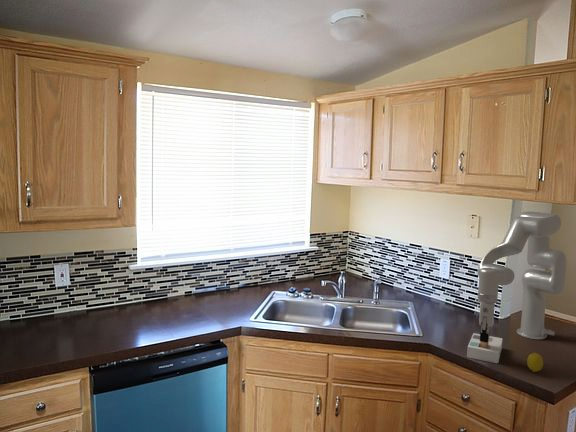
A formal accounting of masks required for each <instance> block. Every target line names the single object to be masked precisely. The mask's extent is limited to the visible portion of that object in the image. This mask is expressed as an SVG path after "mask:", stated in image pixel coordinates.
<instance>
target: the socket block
mask: <svg viewBox="0 0 576 432" xmlns="http://www.w3.org/2000/svg"><path fill="white" fill-rule="evenodd" d="M502 349H503V338H501V337H497V336H490V335H489V344H488V349H486V348H481V347H480V333H475V332H473V333H472V335H471V338H470V340H469V343H468V345H467V349H466V357H467V358H469V359H473V360H479V361H484V362H487V363H493V364H497V363H498V364H499V363H500V357H501V353H502Z"/></svg>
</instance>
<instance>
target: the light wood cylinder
mask: <svg viewBox="0 0 576 432" xmlns="http://www.w3.org/2000/svg"><path fill="white" fill-rule="evenodd" d="M486 328H487V327H486ZM489 330H491V329H490V328H489V329H488V333H489ZM488 344H489V337H488V343H486V342H481V341H480V347H481V348H486V349H488Z"/></svg>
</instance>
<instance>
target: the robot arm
mask: <svg viewBox="0 0 576 432" xmlns="http://www.w3.org/2000/svg"><path fill="white" fill-rule="evenodd" d="M561 227H562V219H561V217H560V216H559V214H556V213H550V212H549V213H548V212H539V211H538V212H537V211H523V212H520V214H519V215H518V216H516V217H515V218H513V220H512V221H511V223H510V225H509V228H508V229H507V232H506V234H505V236H504V238H503V240H502V242H500V243H499V244H497V245H496V246H494V247H493V248H491V249H490V250H489V251H487V252H486V253H485V254H484V256H483V257H482V259H481V261H480V263H479V266H478V268H477V275H478V289H477V301H478V302H479V303H480V304H479V315H478V316H479V317H478V318H479V321H478V323H479V326H480V333H479V334H480V341H481V342H486V343H488V337H489V336H490V333H491V332H490V330H491V329H490V328H492V327H493V326H494V323H495V320H494V319H495V305H496V304H498V297H499V286H508V285H510V284H512V283H513V282H514V280H515V272H514V271H513V269H511V268H509V267H507V266H501V265H498V264H497V265H496V264H494V263H495V262H496V261H498V260H500V259H502V258H505V257H510V256H515V255H519V254H520V253H522V252H523V249H525V248H524V247H525V245H526V243H527V253H526V254H527V255H526V256H527V257H526V259H527V264H528V265H529V266H530V267H534V268H537V269H531V268H530V269H527V270H525V271H524V272H523V274H522V277H521V282H522V287H523V288H522V290H523V293H522V295H523V296H522V306H521V307H522V308H521V319H520V327H519V328H517V329H516V333H517V334H518V335H519V336H521V337H523V338H527V339H531V340H544V339H546V338H547V336H548V335H549V336H555V331H554V330H552V329H547V328H545V315H546V304H547V302H546V301H547V300H546V296H545V294H544V293H547V294H552V295H561V294H562V293H563V292H564V291H565V290H564V289H565V286H566V274H567V273H566V272H567V257H566V254H565V253H564V252H563V251H561V250H559V249H554V248H553V249H552V248H550V237H549V236H551V235H554V234H556V233H557V232H558V231H559V230H560V228H561ZM538 268H539V269H538ZM541 269H543V270H541ZM546 270H548V271H546ZM549 270H550V271H549ZM486 327H487V328H486ZM488 329H490V330H489V333H488Z"/></svg>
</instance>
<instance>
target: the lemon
mask: <svg viewBox="0 0 576 432" xmlns="http://www.w3.org/2000/svg"><path fill="white" fill-rule="evenodd" d="M526 364H527V367H528V368H529V370H530V371H532V372H533V373H536V372H540V371H541V370H542V369H543V366H544V360H543V357H542V356H541V355H540V354H539V353H537V352H531V353H530V354H529V355H528V357H527V359H526Z"/></svg>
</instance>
